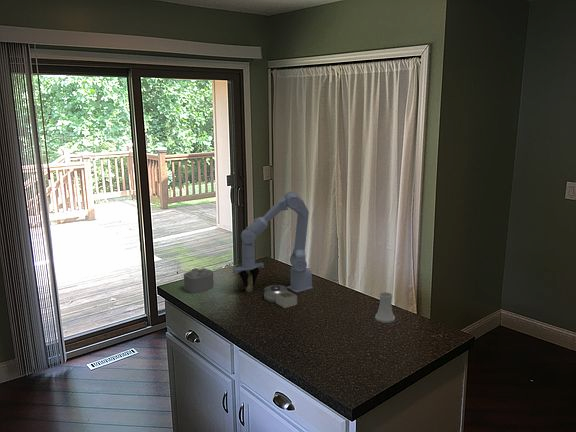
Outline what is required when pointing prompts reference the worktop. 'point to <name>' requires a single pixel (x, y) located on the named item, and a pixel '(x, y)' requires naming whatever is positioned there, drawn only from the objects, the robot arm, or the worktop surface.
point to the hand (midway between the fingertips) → (249, 285)
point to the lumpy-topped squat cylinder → (198, 280)
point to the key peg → (250, 283)
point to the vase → (385, 309)
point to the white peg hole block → (280, 296)
